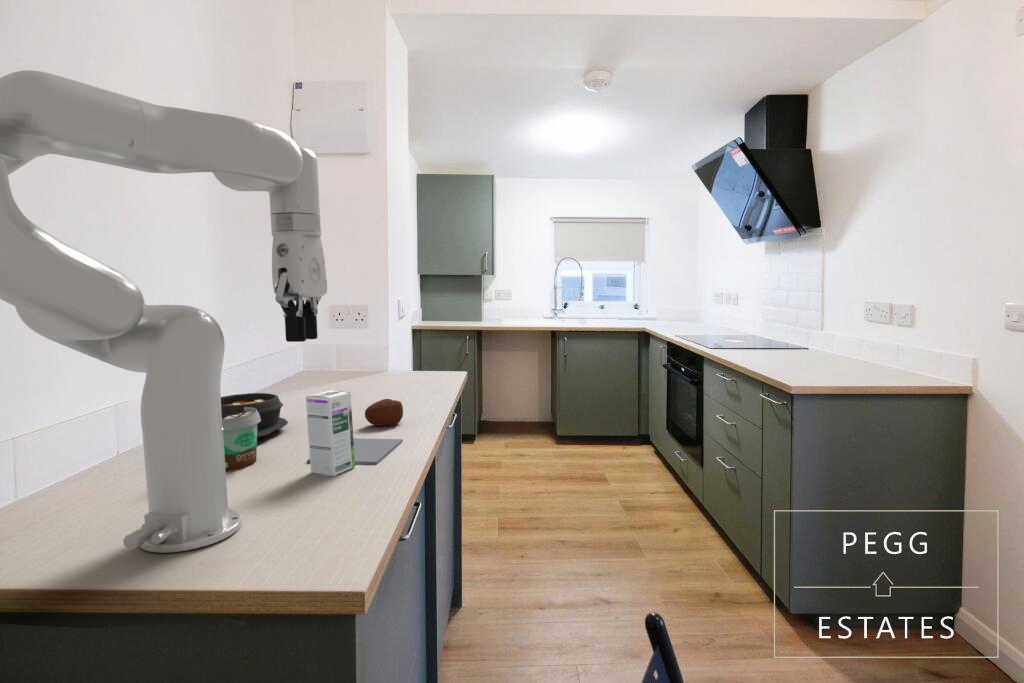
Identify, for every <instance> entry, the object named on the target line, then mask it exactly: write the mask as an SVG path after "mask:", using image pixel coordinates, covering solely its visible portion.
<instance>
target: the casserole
mask: <svg viewBox="0 0 1024 683" xmlns="http://www.w3.org/2000/svg"><path fill="white" fill-rule="evenodd" d="M283 406H284V403H282V401H281V400H280V397H279V395H276V394H272V393H268V392H267V393H265V392H252V393H249V392H248V393H240V394H239V393H238V394H230V395H224V396H221V412H222V418H223V417H225V416H228V415H236V414H239V413H241V412H244V407H251V408H255V409H257V412H258V413H259V415H260V419H261V421H260V422H259V423H257V439H258V438H263V437H266V436H268V435H270V434H272V433H273V432H275V431H278V430H279V429H282V428H283V427H285V426H287V425H288V423H289V421H288V420H287V419H286V418H283V417H280V414H281V409H282V407H283Z"/></svg>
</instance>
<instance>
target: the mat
mask: <svg viewBox="0 0 1024 683" xmlns="http://www.w3.org/2000/svg"><path fill="white" fill-rule="evenodd" d="M353 440H354V457H355V465H378V464H379V463H380V462H381V461H383V460H384V459H385V458H386V457H387V456H388V455H390V453H391V452H393V451H394V450H395V449H396V448H398V446H400V445H401V444H402V443H403V441H404V440H403V439H402V438H401V439H400V438H357V437H356V438H354V437H353ZM306 463H308V464H310V458H308V459H306Z"/></svg>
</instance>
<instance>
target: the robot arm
mask: <svg viewBox="0 0 1024 683" xmlns="http://www.w3.org/2000/svg"><path fill="white" fill-rule="evenodd" d="M46 155H56V156H63V157H69V158H74V159H78V160H79V159H80V160H82V161H83V160H84V161H90V162H96V163H100V164H105V165H109V166H115V167H120V168H124V169H130V170H133V171H134V170H135V171H139V172H143V173H152V174H165V175H166V174H169V175H173V174H175V175H176V174H190V173H192V174H193V173H212V174H213V175H214V178H215V179H216V180H217V181H218V182H219V183H221V184H222V185H223V186H225V187H226V188H228V189H231V190H233V191H237V192H267V193H268V195H269V211H270V226H271V227H270V230H271V237H272V246H271V248H272V249H271V277H272V278H271V279H272V280H271V281H272V288H273V293H274V294H275V297H274V298H275V299H274V300H275V302H276V303H278V305H279V306H280V308H281V309H282V316H283V318H284V329H285V332H284V333H285V341H286V342H287V343H288V342H291V343H292V342H294V343H295V342H297V343H298V342H299V343H300V342H306V341H307V340H317V339H318V335H319V334H318V320H317V318H318V317H317V315H318V305H319V302H320V301H321V299H322V297H324V296H325V295H326V294H327V293H328V285H327V284H328V282H327V270H326V263H325V260H326V259H325V254H324V248H323V244H322V240H321V237H322V230H321V228H322V226H321V208H320V206H321V205H320V189H319V170H318V159H317V156H316V154H315V153H314V152H313V151H312V150H310V149H308V148H305V147H302V146H301V147H300V146H299V145H297V142H295V141H294V139H293V138H291V137H290V136H289V135H288V134H286V133H284V131H283V132H282V131H280V130H278V129H276V128H274V127H271V126H267V125H264V124H260V123H258V122H255V121H251V120H248V119H245V118H240V117H236V116H231V115H226V114H219V113H212V112H205V111H204V112H203V111H199V110H192V109H186V108H181V107H173V106H166V105H165V106H164V105H161V104H160V105H159V104H155V103H152V102H148V101H144V100H141V99H138V98H134V97H131V96H128V95H124V94H121V93H117V92H114V91H111V90H107V89H104V88H100V87H97V86H93V85H90V84H87V83H83V82H81V81H78V80H75V79H70V78H66V77H64V76H60V75H57V74H52V73H49V72H45V71H41V70H40V71H39V70H31V69H28V70H26V69H25V70H19V71H14V72H11V73H8V74H5V75H3V76H1V77H0V300H1V301H4V302H6V303H7V304H10V306H11V305H12V306H14V308H15V310H16V313H17V315H18V316H19V318H20V319H21V321H22V322H23V323H24V324H25V326H26V327H28V328H29V329H30V330H32V331H33V332H35V333H36V334H38V335H39V336H42V337H44V338H45V339H48V340H50V341H52V342H55V343H57V344H59V345H62V346H64V347H67V348H69V349H72V350H74V351H76V352H79V353H82V354H83V355H85V356H86V355H87V356H89V357H90V358H94V359H96V360H97V361H101V362H103V363H107V364H109V365H111V366H113V367H117V368H120V369H123V370H125V371H129V372H135V373H144V374H146V375H145V380H144V385H143V389H142V393H141V400H140V423H141V429H142V430H141V432H142V444H143V456H144V467H145V480H146V493H147V506H148V512H147V513H145V514H144V515H143V517H144V518H143V519H144V523H143V524H142V525H141V527H140V528H139V529H136V530H134V531H133V532H131V533H129V534H127V535H126V536H124V538H123V539H122V540H123V541H122V543H123V545H124V547H125V548H126V549H127V550H131V551H133V550H135V549H137V548H140V549H142V550H144V551H147V552H150V553H157V554H159V553H161V554H162V553H163V554H164V553H165V554H166V553H167V554H169V553H178V552H186V551H190V550H197V549H199V548H203V547H207V546H210V545H213V544H216V543H218V542H220V541H223V540H225V539H227V538H228V537H230V536H232V535H233V534H235V533H236V532H237V531H238V530H239V529H240V527H241V526H242V516H241V514H240V513H239V512H237V511H236V510H234V509H229V503H228V502H229V501H228V485H227V471H226V469H225V454H224V439H223V424H222V412H221V397H222V393H221V389H222V388H221V383H222V372H223V364H224V356H225V346H226V345H225V337H224V333H223V330H222V328H221V325H220V324H219V323H218V322H217V319H215V318H214V317H213V316H212V315H211V314H210V313H208V312H206V311H204V310H203V309H200V308H198V307H194V306H191V305H183V304H156V305H155V304H145V298H144V295H143V293H142V291H141V289H140V288H139V287H138V285H137V284H136V282H134V281H133V280H132V279H131V278H129V277H128V276H127V275H126V274H125V273H122V271H119V270H117V269H115V268H114V267H112V266H111V265H110V266H109V265H108V264H105V263H104V262H102V261H100V260H97V259H95V258H94V257H92V256H90V255H88V254H87V253H84V252H83V251H80V250H78V248H75V247H73V246H71V245H69V244H68V243H67V242H64V241H62V240H60V239H58V238H57V237H55V236H54V235H52V234H50V233H49V232H47V231H45V230H44V229H42V228H41V227H39V226H37V225H36V224H35V223H33V222H32V221H31V220H29V218H28V217H27V216H25V215H24V213H23V212H22V211H21V209H20V208H19V207H18V204H17V203H16V201H15V199H14V196H13V193H12V191H11V190H12V189H11V186H10V180H9V175H12V174H13V173H14V172H15V171H17V170H19V169H20V168H22V167H24V165H27V164H28V163H29V162H31V161H33V160H34V159H35V158H38V157H39V158H40V157H42V156H46Z"/></svg>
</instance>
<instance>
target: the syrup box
mask: <svg viewBox="0 0 1024 683" xmlns="http://www.w3.org/2000/svg"><path fill="white" fill-rule="evenodd" d="M305 404H306V405H305V406H306V419H307V420H306V422H307V433H308V434H307V435H308V436H307V438H308V447H309V448H308V450H309V459H310V463H309V464H310V465H309V466H310V472H311V473H313V474H317V475H321V476H329V477H337V475H340V474H342V473H344V472H346V471H349V470H351V469H355V467H356V464H355V457H354V440H353V438H354V427H353V426H354V425H353V423H354V422H353V409H352V408H353V407H352V394H351V392H350V391H345V390H326V391H323V392H319V393H315V394H311V395H306V397H305Z"/></svg>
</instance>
